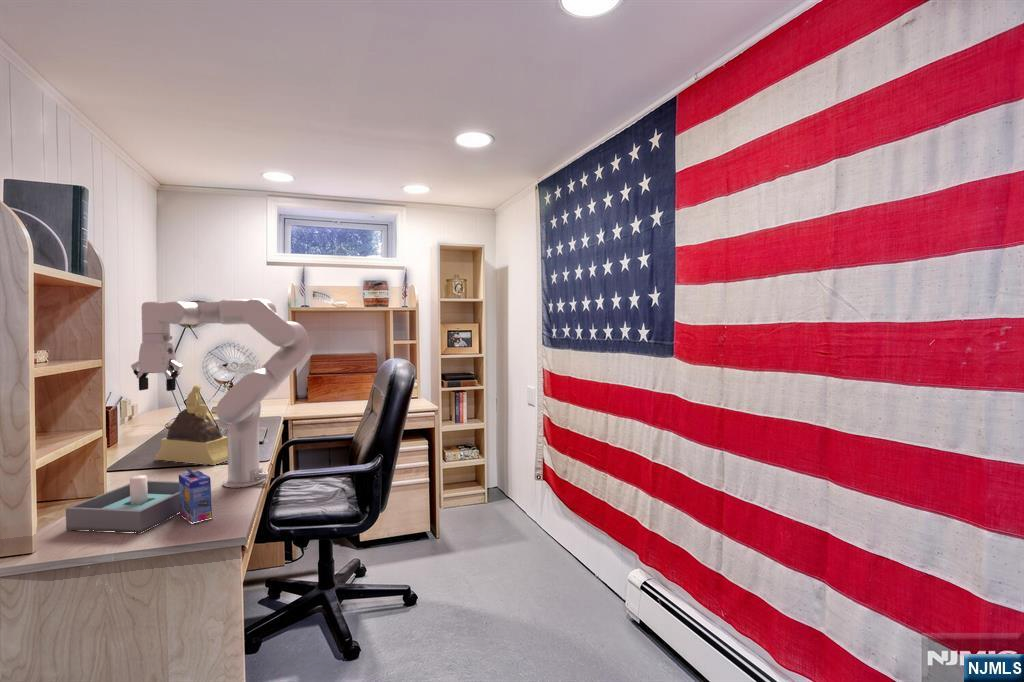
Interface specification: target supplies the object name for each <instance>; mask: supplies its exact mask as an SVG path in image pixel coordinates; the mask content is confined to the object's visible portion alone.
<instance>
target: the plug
mask: <svg viewBox="0 0 1024 682" xmlns="http://www.w3.org/2000/svg"><path fill="white" fill-rule="evenodd" d="M147 481H148V475H146V474H142V475H141V474H138V475H135V476H131V477H129V484H130V505H143V504H145V503H147V502H148V488H147Z"/></svg>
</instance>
